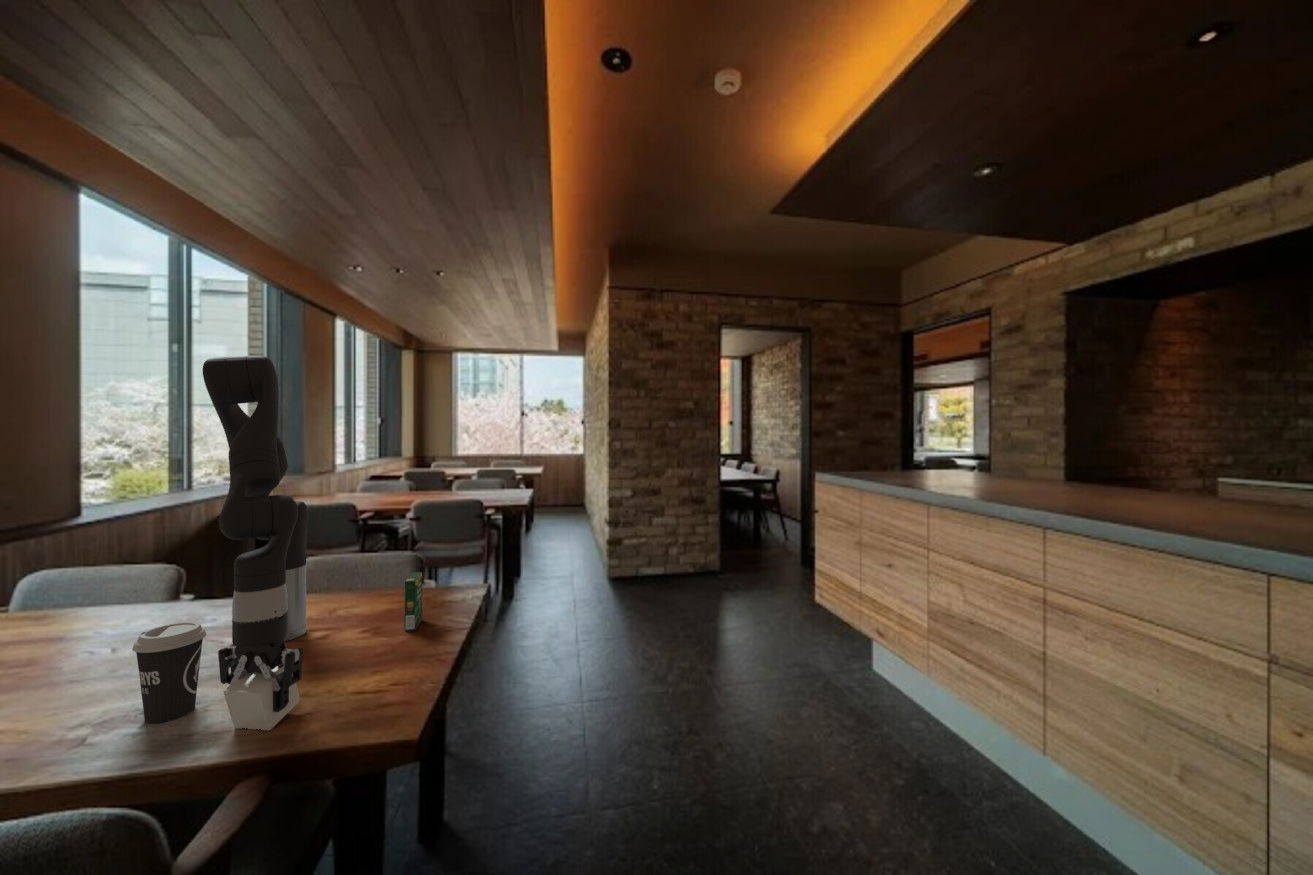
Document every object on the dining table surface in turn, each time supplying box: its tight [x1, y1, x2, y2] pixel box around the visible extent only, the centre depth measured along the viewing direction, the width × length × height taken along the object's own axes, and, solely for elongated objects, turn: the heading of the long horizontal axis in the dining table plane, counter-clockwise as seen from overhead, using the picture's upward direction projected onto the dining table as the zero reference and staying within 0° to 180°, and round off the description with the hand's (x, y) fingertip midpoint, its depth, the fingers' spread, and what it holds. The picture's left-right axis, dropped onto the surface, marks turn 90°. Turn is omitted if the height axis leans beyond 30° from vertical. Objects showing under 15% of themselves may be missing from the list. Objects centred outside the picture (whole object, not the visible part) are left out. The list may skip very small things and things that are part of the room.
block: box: [222, 666, 301, 731], centre depth 87 cm, size 7×7×8 cm
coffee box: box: [404, 571, 423, 632], centre depth 132 cm, size 8×3×13 cm, turn 13°
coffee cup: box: [131, 621, 207, 724], centre depth 90 cm, size 10×10×15 cm
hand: (261, 708), depth 87 cm, fingers closed on block, 6 cm apart
